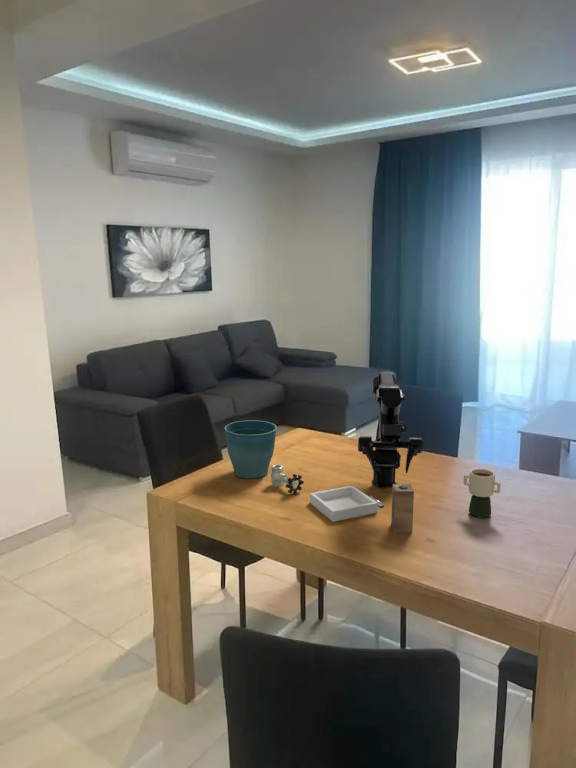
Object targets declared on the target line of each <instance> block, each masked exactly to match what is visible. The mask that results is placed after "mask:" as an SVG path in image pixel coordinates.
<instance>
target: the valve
mask: <svg viewBox="0 0 576 768" xmlns="http://www.w3.org/2000/svg"><path fill="white" fill-rule="evenodd" d="M270 476H271V477H270V478H271V485H273V486H272V487H274V486H275V487H276V488H278V487H279V488H281V487H282V486H283V485H284V484H285V483H286V484H285V488H286V489H287V493H289V494H294V495H297V494H298V491H302V488H303V487H301V485H303V484H304V482H305V481H304V480H303V479H302V478H303V477H302V475H300V474H298V475H297V474H296V473H294V474H292V478H291V477H288V475H287V474H285V473H284V466H283V465H282V464H281V465H280V464H274V465H272V466H271V475H270ZM301 479H302V480H301ZM297 481H298V482H297ZM280 486H281V487H280Z"/></svg>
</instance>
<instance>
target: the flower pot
mask: <svg viewBox="0 0 576 768" xmlns="http://www.w3.org/2000/svg"><path fill="white" fill-rule="evenodd" d="M277 429H278V426H277V425H276V424H275V423H272V422H269V421H265V420H257V419H256V420H255V419H253V420H252V419H251V420H248V419H247V420H246V419H245V420H239V421H234V422H231V423H227V425H225V426H224V431H225V437H226V438H225V440H226V442H225V443H226V449H227V453H228V456H229V459H230V463H231V465H232V468H233V474H234V475H235V476H236V477H238V478H241V479H259V478H262V477H265V476H266V475H267V474H268V472H269V467H270V464H271V460H272V458H273V456H274V452H275V446H276V445H275V444H276V437H277V436H276V435H277Z"/></svg>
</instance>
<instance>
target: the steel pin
mask: <svg viewBox="0 0 576 768" xmlns="http://www.w3.org/2000/svg"><path fill="white" fill-rule="evenodd" d="M369 497H370V498H371V499H373V500H374V501H376V502H377V503H378V507H380V508H384V507H385V504H384V503H383V502H381V501H380V500H379V499H377V498H375V497H373V496H372V495H369Z"/></svg>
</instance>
